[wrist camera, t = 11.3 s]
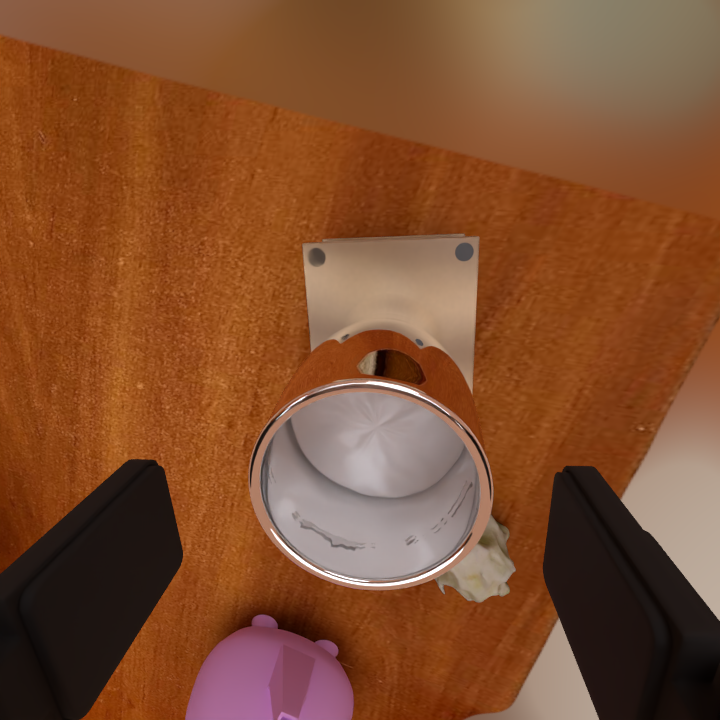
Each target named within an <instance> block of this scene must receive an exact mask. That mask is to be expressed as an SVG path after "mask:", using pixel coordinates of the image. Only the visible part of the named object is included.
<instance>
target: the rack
mask: <svg viewBox="0 0 720 720" xmlns="http://www.w3.org/2000/svg"><path fill="white" fill-rule="evenodd" d="M302 248H303V261H304V273H305V285H306V297H307V309H308V321H309V334H310V346H311V352H312V351H313V350H314V349H315V348H316V347H317V346H318V345H319V344H320V343H321V342H323V341H324V340H325V339H327V338H328V337H330V336H331V335H333V334H334V333H336V332H337V331H339V330H340V329H341V327H342V324H343V322H344V320H345V318H346V316H347V315H348V313H349V312H350V311H351V310H352V309H353V308H354V307H355V306H356V305H357V304H358V303H359V302H361V301H362V300H364V299H366V298H368V297H370V296H373V295H377V294H381V293H398V294H403V295H406V296H409V297H411V298H413V299H415V300H417V301H418V302H420V303H421V304H422V305H424V306H425V307H426V308H427V309H428V310H429V312H430V313H431V314H432V316H433V317H434V319H435V321H436V323H437V326H438V329H439V333H440V341H441V344H442V346H443V347H444V348H445V349H446V350H447V351H448V353H449V354H450V355H451V356H452V357H453V359H454V360H455V361H456V363H457V364H458V366H459V368H460V369H461V371H462V373H463V375H464V378H465V380H466V382H467V384H468V386H469V388H470V390H471V393H472V389H473V368H474V346H475V324H476V303H477V281H478V260H479V237H478V236H465V234H463V233H462V234H437V235H412V236H387V237H362V238H338V239H323V240H322V242H312V243H303V244H302Z"/></svg>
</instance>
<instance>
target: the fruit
mask: <svg viewBox="0 0 720 720" xmlns="http://www.w3.org/2000/svg"><path fill="white" fill-rule="evenodd" d="M508 537H509V530H508V529H507V528H506V527H505V526H503V525H502V524H500V523H498V522H496V521H495V519H494V518H493V516H492V515H491V514H490V518H489V521H488V524H487V526H486V529H485V531H484V533H483V535H482V536H481V538H480V540H479V541H478V543H477V544H476V546H475V547H474V548H473V550H472V551H471V552H470V553H469V554H468V555H467V556H466V557H465V558H464V559H463V560H462V561H461V562H460V563H459V564H457V565H456V566H455V567H453V568H452V569H451V570H449V571H448V572H446V573H444V574H443V575H441V576H439V577H437V578H435V580H436V582H437V584H438V586H439V588H440V589H441V591H442V593H443V594H445V592H444V587H443V585H448V586H451V587H453V588H455V589H456V590H457V591H458V592H459V593H460V594H461V595H462V596H463V597H465V598H466V599H467V600H468V601H471V600H474V601H475V602H482V601H484V600H485V599H487V598H488V597H490V596H493V595H500V596H504V595H506V594H509V592H510V588H509V586H508V584H507V582H506V581H507V580H508V578H509V577H510V576H511V574H512V573H513V572H514V571H516V569H515V567H514V563H513V561H512V560H511V559H510V558H509V555H508V551H507V546H506V541H507V539H508Z"/></svg>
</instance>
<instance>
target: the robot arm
mask: <svg viewBox="0 0 720 720" xmlns="http://www.w3.org/2000/svg"><path fill="white" fill-rule="evenodd" d="M182 559H183V550H182V545H181V541H180V537H179V532H178V528H177V523H176V519H175V515H174V510H173V506H172V502H171V497H170V493H169V488H168V484H167V480H166V475H165V471H164V469H163V467H162V466H159V465H158V463H157V462H156V461H155V460H139V459H132V460H128V461H127V462H125V463H124V464H123V465H122V466H121V467H120V468H119V469H118V470H116V471H115V472H114V473H113V474H112V475H111V476H110V477H109V478H108V479H106V480H105V481H104V482H103V483H102V484H101V485H100V486H99V487H97V488H96V489H95V490H94V491H93V492H92V493H91V494H90V495H88V496H87V497H86V498H85V499H84V500H83V501H82V502H81V503H80V504H78V505H77V506H76V507H75V508H74V509H73V510H72V511H71V512H69V513H68V514H67V515H66V516H65V517H64V518H63V519H62V520H60V521H59V522H58V523H57V524H56V525H55V526H54V527H53V528H52V529H50V530H49V531H48V532H47V533H46V534H45V535H44V536H43V537H41V538H40V539H39V540H38V541H37V542H36V543H35V544H34V545H32V546H31V547H30V548H29V549H28V550H27V551H26V552H25V553H24V554H22V555H21V556H20V557H19V558H18V559H17V560H16V561H15V562H13V563H12V564H11V565H10V566H9V567H8V568H7V569H6V570H4V571H3V572H2V573H1V574H0V720H79V719H81V718H83V717H84V716H85V715H86V714H87V713H88V712H89V710H90V709H91V707H92V706H93V704H94V703H95V701H96V699H97V698H98V696H99V695H100V693H101V691H102V690H103V688H104V687H105V685H106V684H107V682H108V680H109V679H110V677H111V676H112V674H113V672H114V671H115V669H116V668H117V666H118V664H119V663H120V661H121V660H122V658H123V657H124V655H125V653H126V652H127V650H128V649H129V647H130V645H131V644H132V642H133V641H134V639H135V638H136V636H137V634H138V633H139V631H140V630H141V628H142V626H143V625H144V623H145V622H146V620H147V618H148V617H149V615H150V614H151V612H152V611H153V609H154V607H155V606H156V604H157V603H158V601H159V599H160V598H161V596H162V595H163V593H164V591H165V590H166V588H167V587H168V585H169V584H170V582H171V580H172V579H173V577H174V576H175V574H176V572H177V571H178V569H179V567H180V566H181V563H182ZM543 574H544V579H545V583H546V586H547V588H548V591H549V593H550V596H551V598H552V601H553V603H554V606H555V608H556V611H557V613H558V616H559V618H560V621H561V623H562V626H563V629H564V631H565V634H566V636H567V639H568V641H569V644H570V646H571V649H572V651H573V654H574V656H575V659H576V661H577V664H578V666H579V669H580V672H581V674H582V677H583V679H584V682H585V684H586V687H587V689H588V692H589V694H590V697H591V700H592V702H593V705H594V707H595V710H596V712H597V715H598V717H599V720H720V621H719V620H718V619H717V617H716V616H715V615H714V614H713V612H712V611H711V610H710V608H709V607H708V606H707V605H706V603H705V602H704V601H703V599H702V598H701V597H700V596H699V595H698V593H697V592H696V591H695V589H694V588H693V587H692V586H691V584H690V583H689V582H688V580H687V579H686V578H685V577H684V575H683V574H682V573H681V572H680V570H679V569H678V568H677V567H676V565H675V564H674V563H673V561H672V560H671V559H670V558H669V556H668V555H667V554H666V552H665V551H664V550H663V549H662V547H661V546H660V545H659V544H658V542H657V541H656V540H655V539H654V537H652V536H651V534H650V533H648V532H647V531H645V530H643V529H642V527H641V526H640V525H639V524H638V522H637V521H636V520H635V518H634V517H633V516H632V515H631V513H630V512H629V511H628V509H627V508H626V507H625V506H624V504H623V503H622V502H621V500H620V499H619V498H618V496H617V495H616V494H615V493H614V491H613V490H612V489H611V487H610V486H609V485H608V484H607V482H606V481H605V480H604V478H603V477H602V476H601V474H600V473H599V472H598V471H597V469H596V468H594V467H592V466H565V467H564V469H563V471H562V472H557V473H556V474H555V477H554V484H553V492H552V499H551V507H550V515H549V523H548V531H547V538H546V546H545V554H544V562H543Z"/></svg>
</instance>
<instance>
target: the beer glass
mask: <svg viewBox="0 0 720 720" xmlns="http://www.w3.org/2000/svg"><path fill="white" fill-rule="evenodd" d="M248 484H249V493H250V498H251V502H252V505H253V508H254V511H255V514H256V516H257V518H258V520H259V522H260V524H261V526H262V528H263V529H264V531H265V533H266V534H267V535H268V537H269V538H270V539H271V541H272V542H273V543H274V544H275V545H276V547H277V548H278V549H279V550H280V551H281V552H282V553H283V554H284V555H286V556H287V557H288V558H289V559H290V560H291V561H293V562H294V563H295V564H297V565H298V566H300V567H301V568H303V569H304V570H306V571H308V572H310V573H311V574H313V575H315V576H317V577H320V578H322V579H324V580H327V581H329V582H332V583H335V584H338V585H342V586H346V587H350V588H356V589H363V590H395V589H402V588H408V587H412V586H416V585H419V584H422V583H425V582H428V581H430V580H432V579H435V578H437V577H439V576H441V575H443V574H444V573H446V572H448V571H449V570H451V569H452V568H453V567H455V566H456V565H457V564H459V563H460V562H461V561H462V560H463V559H464V558H465V557H466V556H467V555H468V554H469V553H470V552H471V551H472V550H473V548H474V547H475V546H476V544H477V543H478V541H479V540H480V538H481V536H482V535H483V533H484V531H485V529H486V526H487V524H488V521H489V518H490V514H491V510H492V504H493V480H492V474H491V470H490V466H489V463H488V460H487V457H486V452H485V445H484V440H483V435H482V430H481V425H480V420H479V416H478V412H477V409H476V406H475V402H474V399H473V396H472V393H471V390H470V388H469V386H468V384H467V382H466V380H465V378H464V375H463V373H462V371H461V369H460V368H459V366H458V364H457V363H456V361H455V360H454V359H453V357H452V356H451V355H450V354H449V353H448V351H447V350H446V349H445V348H444V347H443V346H442V344H441V341H440V333H439V329H438V326H437V323H436V321H435V319H434V317H433V316H432V314H431V313H430V312H429V310H428V309H427V308H426V307H425V306H424V305H422V304H421V303H420V302H418V301H417V300H415V299H413V298H411V297H409V296H406V295H403V294H398V293H381V294H377V295H373V296H370V297H368V298H366V299H364V300H362V301H361V302H359V303H358V304H357V305H356V306H355V307H354V308H353V309H352V310H351V311H350V312H349V313H348V315H347V316H346V318H345V320H344V322H343V324H342V327H341V329H340V330H339V331H337V332H336V333H334V334H333V335H331V336H330V337H328V338H327V339H325V340H324V341H323V342H321V343H320V344H319V345H318V346H317V347H316V348H315V349H314V350H313V351H312V352H311V353H310V354H309V356H308V357H307V358H306V359H305V360H304V361H303V362H302V363H301V365H300V366H299V367H298V369H297V370H296V372H295V373H294V375H293V376H292V378H291V379H290V381H289V382H288V384H287V386H286V387H285V389H284V391H283V392H282V394H281V396H280V398H279V400H278V402H277V404H276V406H275V408H274V410H273V412H272V414H271V416H270V418H269V420H268V422H267V424H266V425H265V426H264V428H263V429H262V431H261V433H260V434H259V436H258V438H257V440H256V443H255V445H254V448H253V451H252V454H251V458H250V463H249V472H248Z"/></svg>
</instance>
